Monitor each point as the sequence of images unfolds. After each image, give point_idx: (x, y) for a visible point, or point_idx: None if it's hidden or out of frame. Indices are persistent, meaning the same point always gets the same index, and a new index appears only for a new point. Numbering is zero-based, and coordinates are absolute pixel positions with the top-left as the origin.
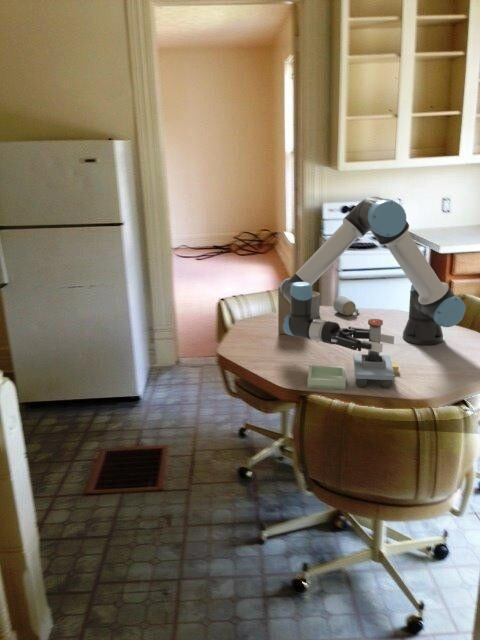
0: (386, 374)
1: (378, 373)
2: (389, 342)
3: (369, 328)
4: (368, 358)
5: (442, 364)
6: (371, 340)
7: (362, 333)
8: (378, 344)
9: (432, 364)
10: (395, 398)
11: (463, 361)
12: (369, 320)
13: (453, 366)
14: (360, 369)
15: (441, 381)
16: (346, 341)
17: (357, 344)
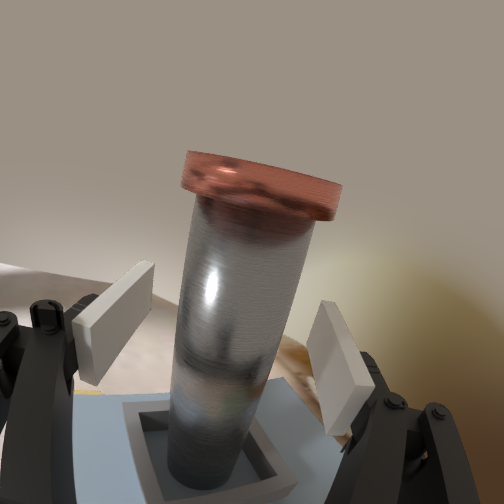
0: (291, 398)
1: (302, 422)
2: (144, 313)
3: (282, 272)
4: (231, 466)
5: (27, 306)
6: (274, 358)
7: (56, 440)
8: (338, 315)
9: (23, 321)
10: (317, 402)
11: (18, 277)
12: (293, 172)
13: (41, 294)
14: (312, 497)
15: (140, 324)
16: (465, 486)
17: (420, 412)
